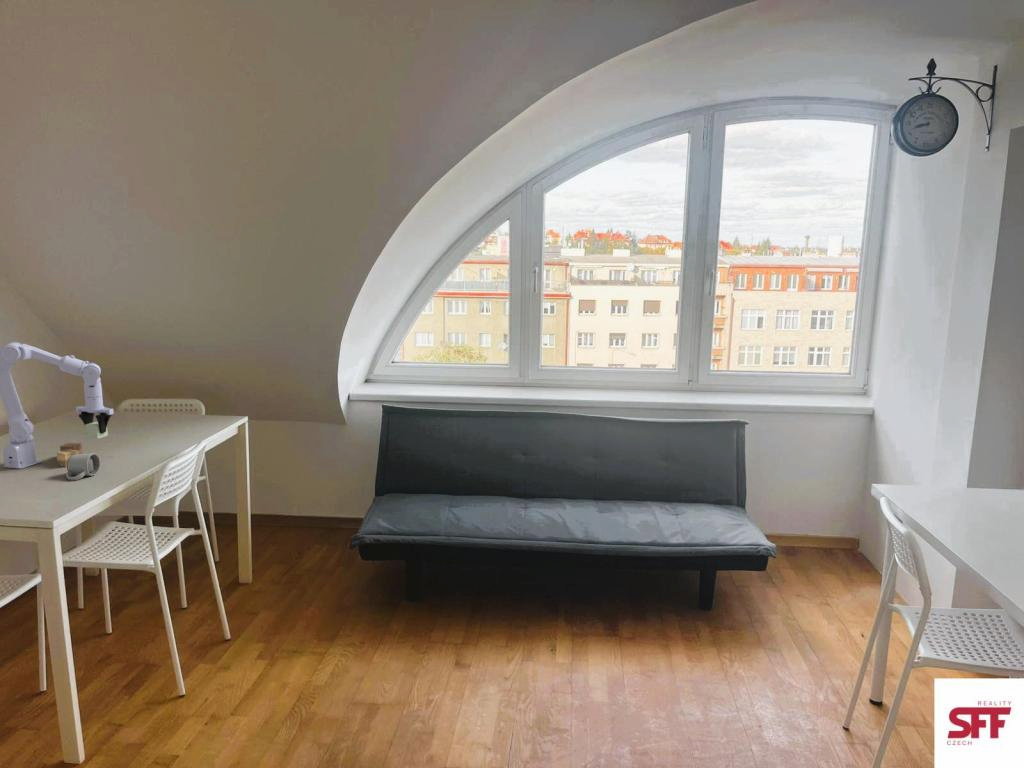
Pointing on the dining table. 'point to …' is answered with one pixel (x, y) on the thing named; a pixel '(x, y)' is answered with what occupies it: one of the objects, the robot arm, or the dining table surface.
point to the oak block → (65, 456)
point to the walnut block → (72, 447)
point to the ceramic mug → (83, 465)
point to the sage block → (94, 431)
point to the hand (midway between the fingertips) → (96, 432)
